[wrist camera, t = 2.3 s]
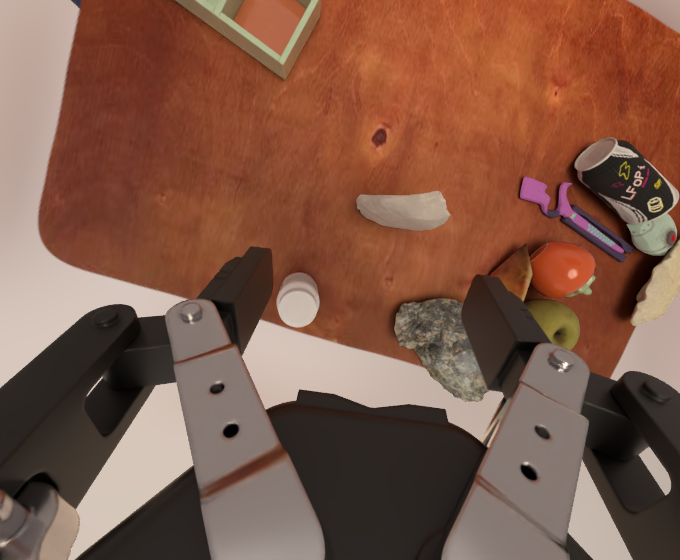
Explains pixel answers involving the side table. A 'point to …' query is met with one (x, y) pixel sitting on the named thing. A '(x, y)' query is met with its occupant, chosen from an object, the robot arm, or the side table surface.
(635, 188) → the beverage can
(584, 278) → the tomato
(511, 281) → the decorative stone
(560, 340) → the apple
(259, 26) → the divided tray
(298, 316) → the pill bottle
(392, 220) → the stone tool
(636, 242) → the robot head
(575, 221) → the pink plastic clamp
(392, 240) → the side table surface
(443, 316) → the rock
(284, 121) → the side table surface
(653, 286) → the stone tool
